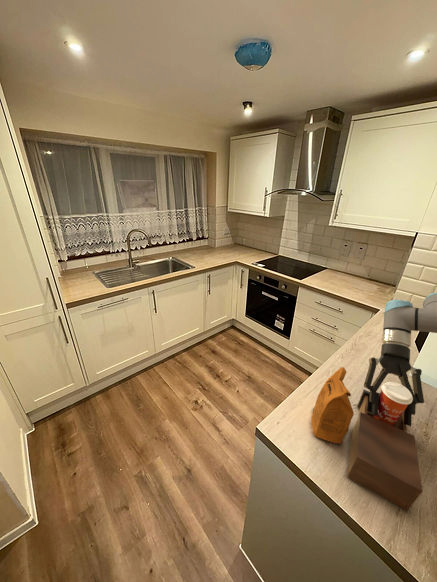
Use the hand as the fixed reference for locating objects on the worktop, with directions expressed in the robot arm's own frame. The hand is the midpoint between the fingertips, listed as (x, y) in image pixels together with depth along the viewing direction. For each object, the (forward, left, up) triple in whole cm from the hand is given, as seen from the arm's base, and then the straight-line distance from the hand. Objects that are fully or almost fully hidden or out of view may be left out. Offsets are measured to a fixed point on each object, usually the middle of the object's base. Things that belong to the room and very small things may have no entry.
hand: (390, 419), depth 70 cm
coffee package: (+15, +4, -10) cm, 19 cm away
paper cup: (+1, -3, -5) cm, 6 cm away
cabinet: (+1, +10, -10) cm, 14 cm away
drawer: (+1, -5, -9) cm, 10 cm away
